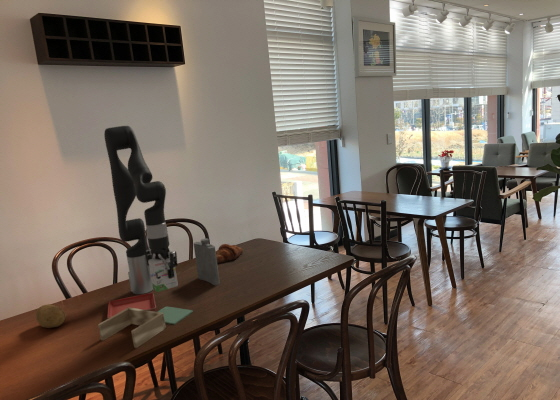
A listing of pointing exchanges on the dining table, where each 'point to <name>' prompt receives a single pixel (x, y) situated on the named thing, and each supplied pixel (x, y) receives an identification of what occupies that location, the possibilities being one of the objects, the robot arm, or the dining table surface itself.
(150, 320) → the beige u-shaped bracket
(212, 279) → the hip flask
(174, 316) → the mat
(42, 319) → the potato
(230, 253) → the pastry
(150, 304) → the plant saucer
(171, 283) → the ink box
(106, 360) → the dining table surface
